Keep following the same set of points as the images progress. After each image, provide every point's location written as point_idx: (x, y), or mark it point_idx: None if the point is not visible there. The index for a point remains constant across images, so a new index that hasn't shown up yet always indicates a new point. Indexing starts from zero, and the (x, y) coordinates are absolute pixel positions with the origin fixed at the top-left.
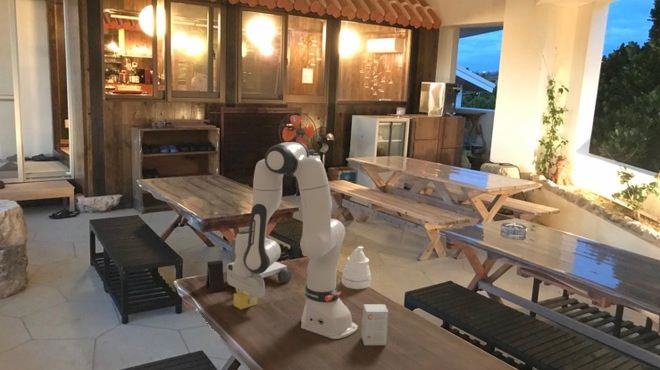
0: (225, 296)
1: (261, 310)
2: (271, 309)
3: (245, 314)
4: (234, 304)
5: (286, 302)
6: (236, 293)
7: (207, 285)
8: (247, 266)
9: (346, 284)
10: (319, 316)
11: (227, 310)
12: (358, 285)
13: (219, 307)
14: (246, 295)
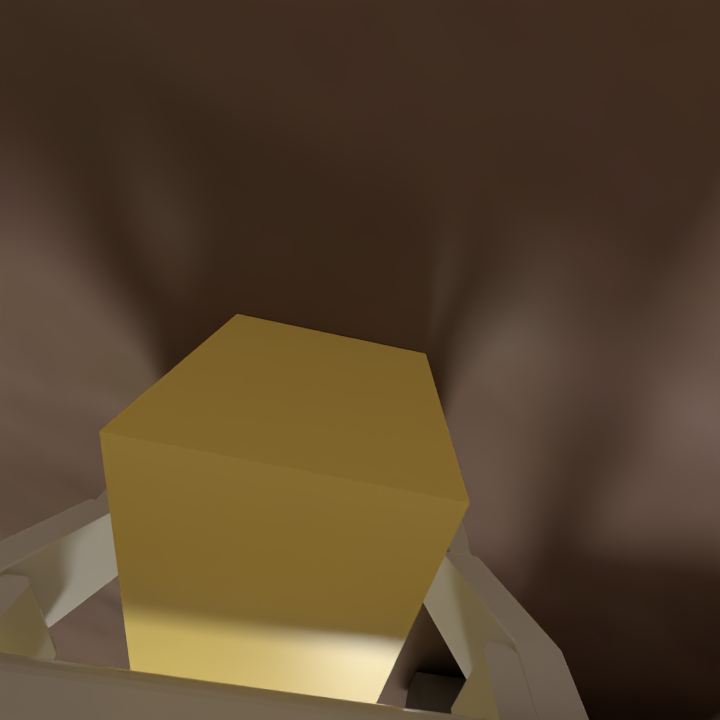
0: (700, 483)
1: (51, 449)
2: (19, 518)
3: (46, 228)
4: (403, 357)
5: (88, 656)
6: (416, 543)
7: None
8: None
9: None
10: None
11: (373, 134)
12: None
13: (588, 129)
14: (148, 579)
